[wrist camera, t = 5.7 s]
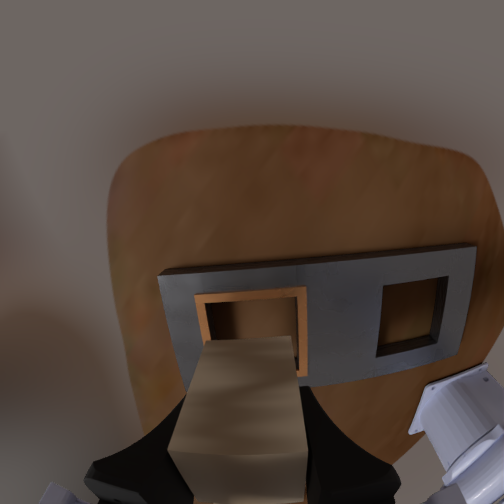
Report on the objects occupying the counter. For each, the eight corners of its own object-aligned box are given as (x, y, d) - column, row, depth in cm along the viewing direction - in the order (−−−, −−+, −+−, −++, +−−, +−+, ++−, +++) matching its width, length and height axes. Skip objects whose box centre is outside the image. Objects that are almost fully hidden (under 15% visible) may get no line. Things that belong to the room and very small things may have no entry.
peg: (290, 335, 14) (308, 450, 7) (292, 396, 15) (303, 501, 8) (205, 340, 14) (167, 449, 7) (218, 399, 15) (198, 501, 8)
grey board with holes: (466, 242, 18) (478, 247, 16) (449, 346, 20) (458, 355, 18) (164, 269, 19) (156, 276, 17) (190, 380, 21) (185, 393, 20)
